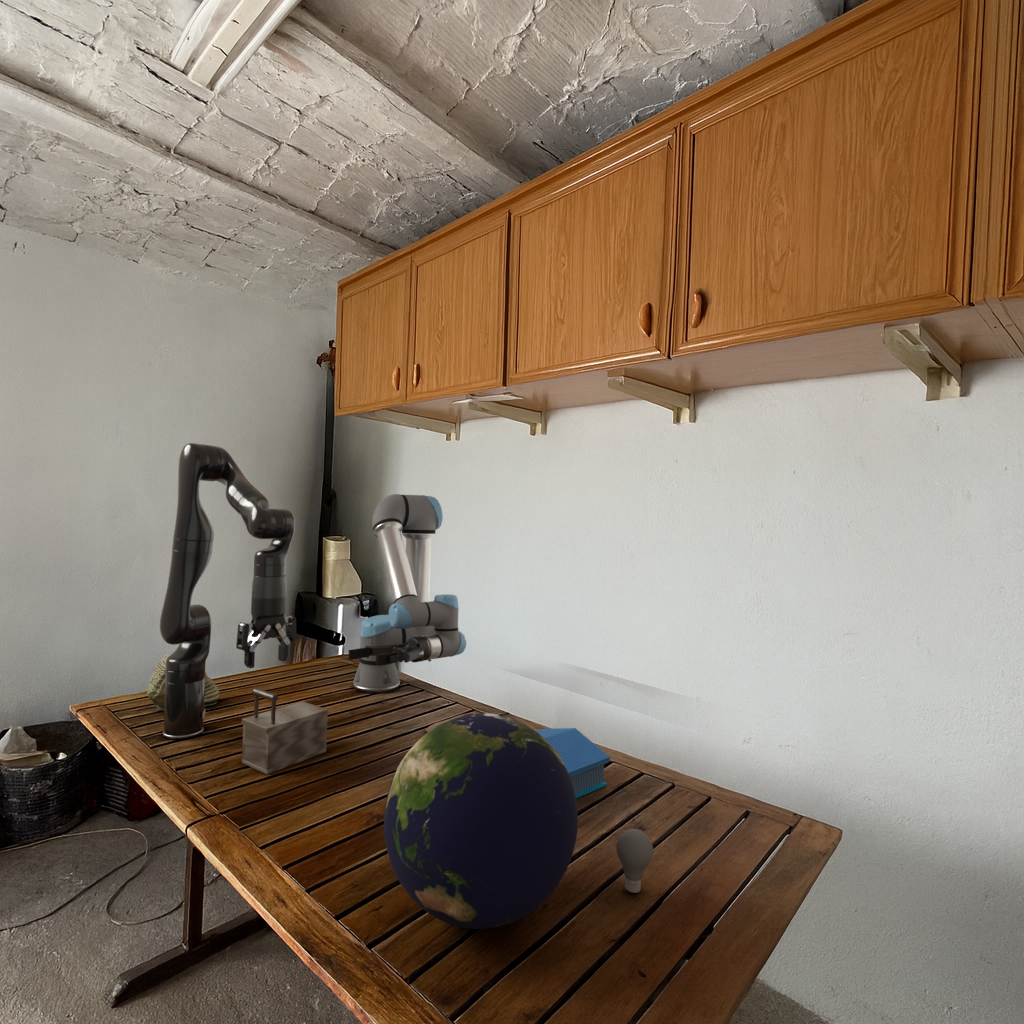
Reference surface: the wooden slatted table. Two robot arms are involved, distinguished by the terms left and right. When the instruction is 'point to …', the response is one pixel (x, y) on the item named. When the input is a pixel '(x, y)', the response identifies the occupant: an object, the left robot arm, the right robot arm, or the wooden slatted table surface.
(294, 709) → the lid
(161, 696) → the fossil
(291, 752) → the chest
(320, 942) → the wooden slatted table surface
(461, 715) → the anatomical model
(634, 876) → the light bulb
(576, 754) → the model building
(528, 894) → the globe
